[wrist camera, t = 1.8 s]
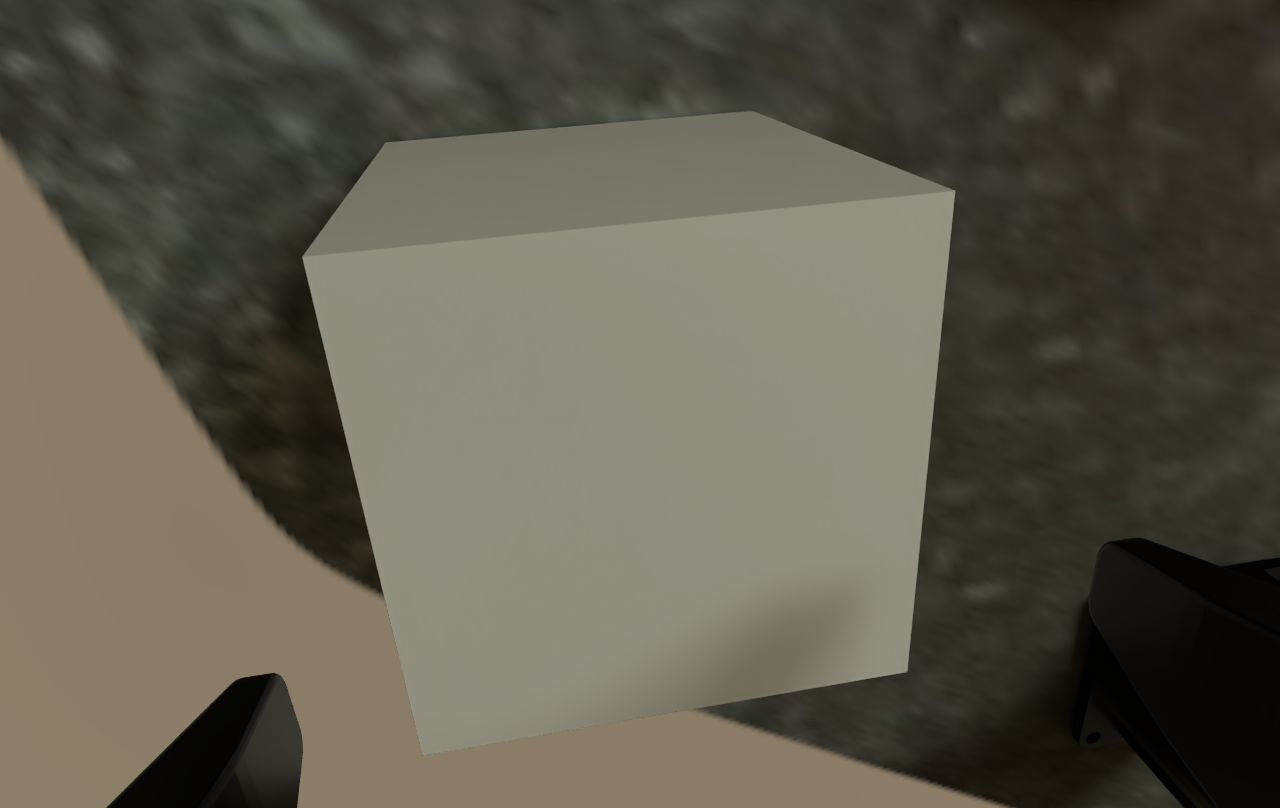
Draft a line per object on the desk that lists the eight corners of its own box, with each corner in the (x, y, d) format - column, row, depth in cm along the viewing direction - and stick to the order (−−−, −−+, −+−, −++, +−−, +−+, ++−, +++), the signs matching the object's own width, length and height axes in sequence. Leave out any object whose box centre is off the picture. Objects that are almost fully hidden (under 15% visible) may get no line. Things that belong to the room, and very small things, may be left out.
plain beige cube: (752, 428, 22) (907, 671, 14) (446, 469, 21) (422, 755, 13) (751, 111, 18) (955, 191, 10) (385, 142, 17) (302, 256, 9)
